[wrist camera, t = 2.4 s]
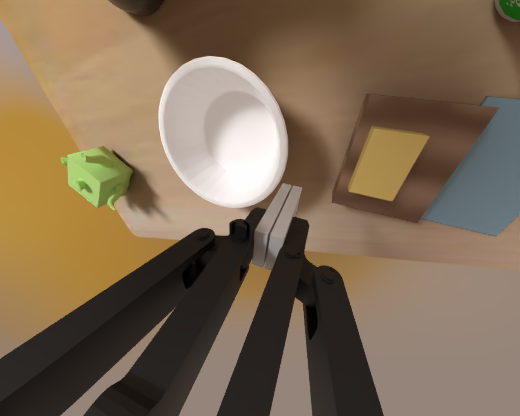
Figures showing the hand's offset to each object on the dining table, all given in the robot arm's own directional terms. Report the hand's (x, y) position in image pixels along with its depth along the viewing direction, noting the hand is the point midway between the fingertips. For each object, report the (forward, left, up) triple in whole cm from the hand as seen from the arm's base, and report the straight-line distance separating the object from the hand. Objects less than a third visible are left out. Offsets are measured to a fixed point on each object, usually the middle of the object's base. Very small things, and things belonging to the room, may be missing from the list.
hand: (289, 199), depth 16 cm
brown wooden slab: (0, +12, -20) cm, 24 cm away
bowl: (+1, -14, -21) cm, 25 cm away
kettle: (+16, -50, -21) cm, 56 cm away
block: (0, +10, -16) cm, 19 cm away
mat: (0, +25, -20) cm, 32 cm away
